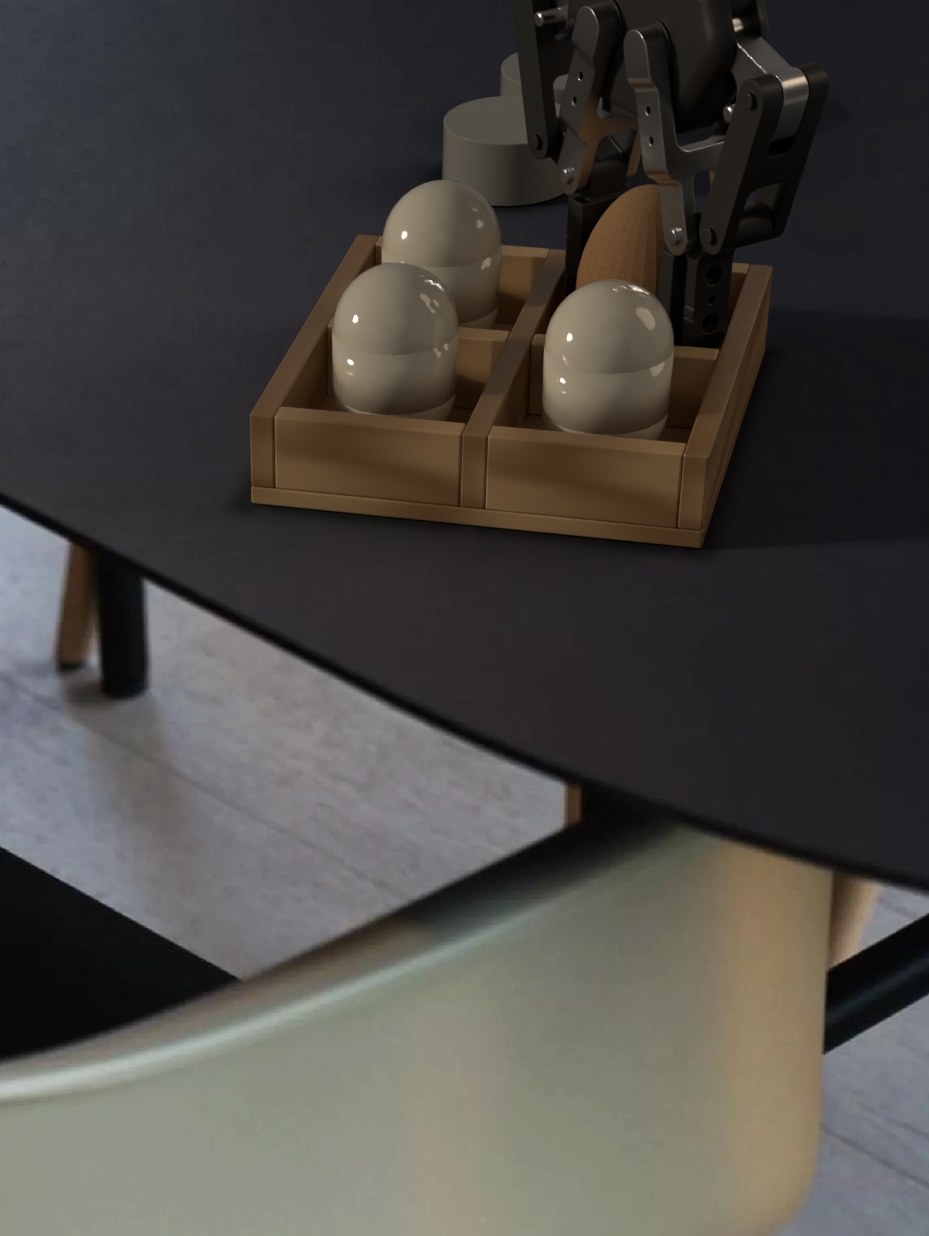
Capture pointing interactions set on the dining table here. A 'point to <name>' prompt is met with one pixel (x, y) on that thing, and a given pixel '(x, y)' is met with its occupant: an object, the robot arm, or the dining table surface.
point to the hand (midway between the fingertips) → (641, 324)
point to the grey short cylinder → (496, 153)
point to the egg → (626, 241)
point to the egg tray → (509, 425)
